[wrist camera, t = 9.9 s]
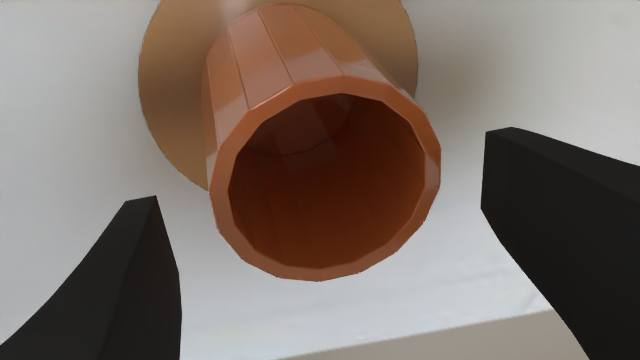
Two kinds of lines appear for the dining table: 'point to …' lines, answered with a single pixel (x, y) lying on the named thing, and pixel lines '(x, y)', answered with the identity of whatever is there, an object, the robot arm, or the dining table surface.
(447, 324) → the dining table surface
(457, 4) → the dining table surface
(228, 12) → the coaster
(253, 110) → the cup
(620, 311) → the robot arm
